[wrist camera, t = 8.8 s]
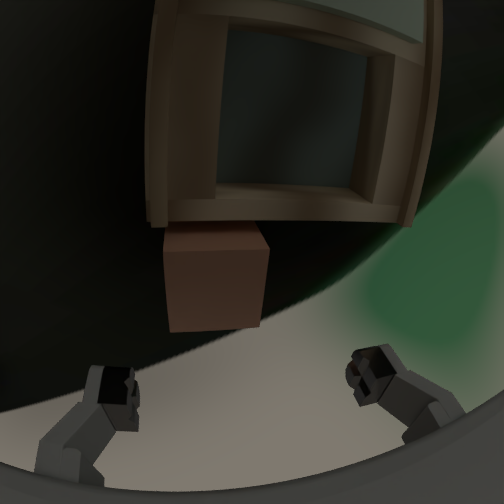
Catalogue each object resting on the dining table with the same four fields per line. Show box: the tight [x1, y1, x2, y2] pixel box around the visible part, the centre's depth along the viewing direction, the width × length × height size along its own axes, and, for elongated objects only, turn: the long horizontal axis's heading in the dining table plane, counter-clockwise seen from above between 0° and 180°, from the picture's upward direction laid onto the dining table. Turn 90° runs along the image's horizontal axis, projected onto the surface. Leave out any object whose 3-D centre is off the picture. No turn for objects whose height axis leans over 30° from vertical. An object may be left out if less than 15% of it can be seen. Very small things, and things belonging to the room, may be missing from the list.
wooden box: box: [145, 0, 443, 228], centre depth 11 cm, size 14×19×4 cm
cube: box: [163, 220, 270, 332], centre depth 16 cm, size 4×4×5 cm
